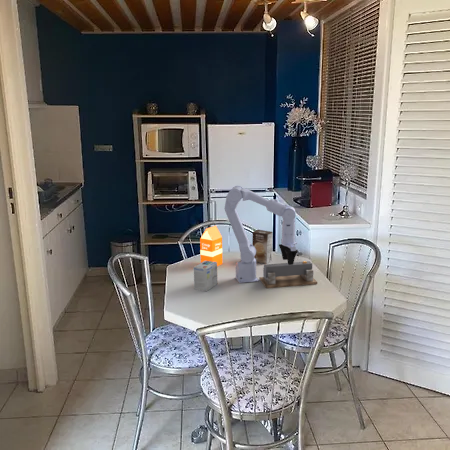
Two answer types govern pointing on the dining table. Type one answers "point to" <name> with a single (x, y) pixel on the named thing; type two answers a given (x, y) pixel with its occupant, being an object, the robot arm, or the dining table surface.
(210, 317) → the dining table surface
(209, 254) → the orange juice
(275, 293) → the dining table surface
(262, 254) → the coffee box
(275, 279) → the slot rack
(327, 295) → the dining table surface
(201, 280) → the light bulb box
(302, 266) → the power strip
